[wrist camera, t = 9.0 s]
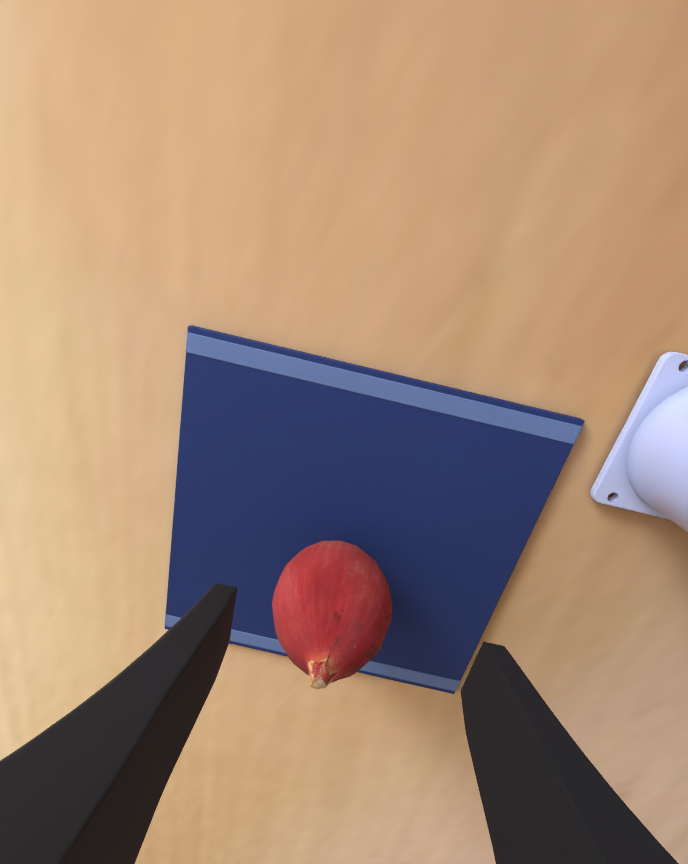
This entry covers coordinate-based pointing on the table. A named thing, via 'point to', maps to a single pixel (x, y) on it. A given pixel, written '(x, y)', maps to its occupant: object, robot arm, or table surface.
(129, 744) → the robot arm
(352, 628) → the onion
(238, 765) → the table surface
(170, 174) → the table surface
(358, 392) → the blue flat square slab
